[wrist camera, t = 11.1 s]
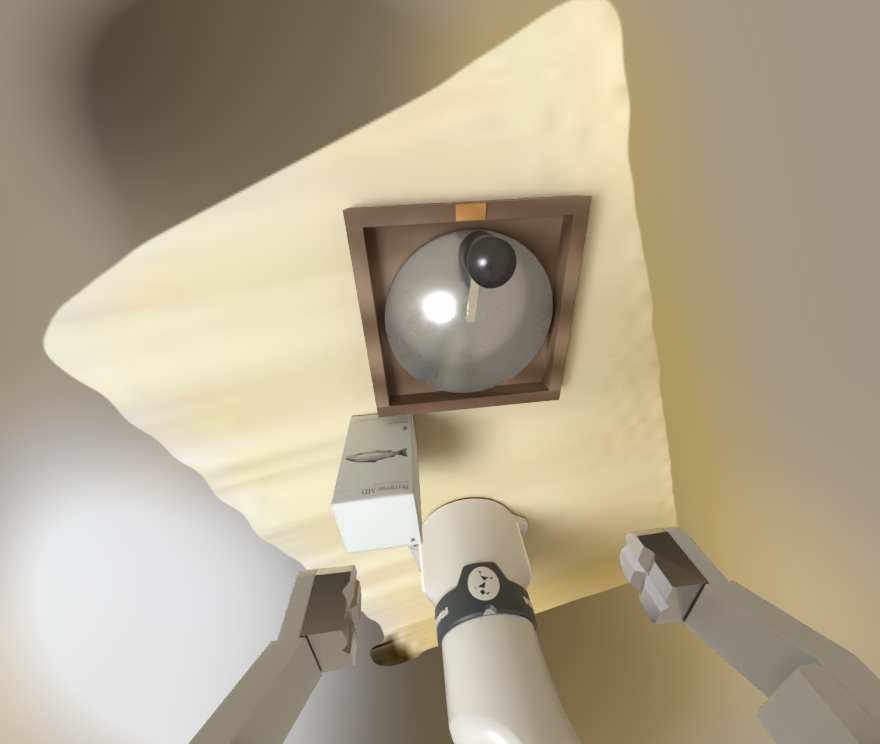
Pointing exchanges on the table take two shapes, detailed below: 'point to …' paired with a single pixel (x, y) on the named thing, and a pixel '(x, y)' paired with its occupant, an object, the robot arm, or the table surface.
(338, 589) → the robot arm
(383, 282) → the dial housing
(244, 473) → the table surface
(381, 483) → the supplement box
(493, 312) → the dial
